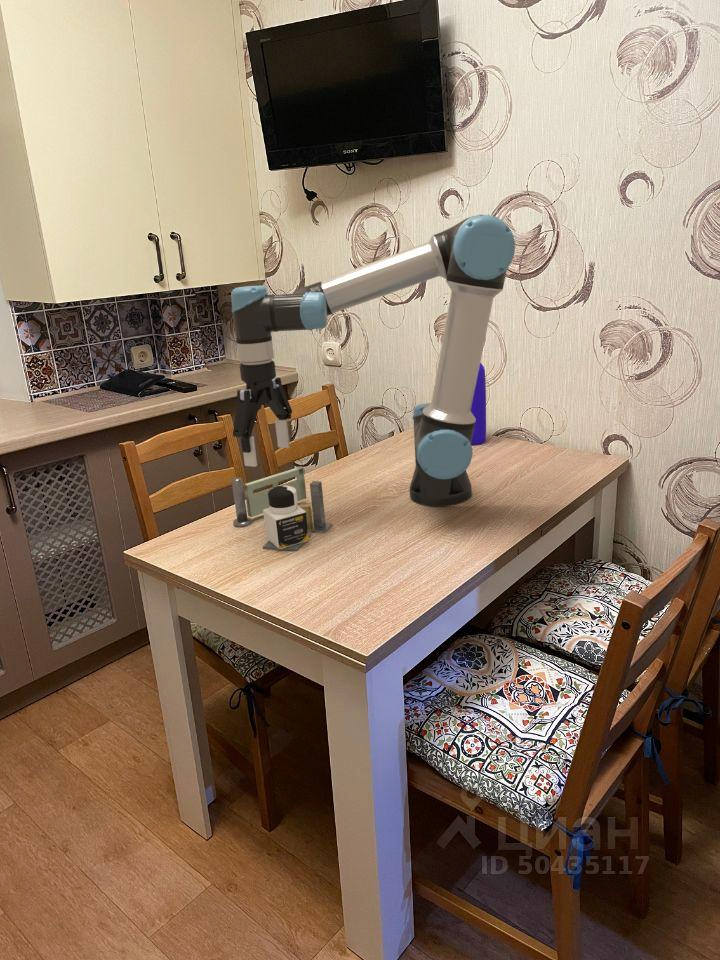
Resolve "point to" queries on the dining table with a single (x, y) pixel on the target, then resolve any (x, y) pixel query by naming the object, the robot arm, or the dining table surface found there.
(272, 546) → the mat
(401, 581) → the dining table surface
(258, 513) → the gate
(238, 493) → the hinge post
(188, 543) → the dining table surface
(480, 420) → the bottle
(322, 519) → the post
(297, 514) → the medicine bottle
